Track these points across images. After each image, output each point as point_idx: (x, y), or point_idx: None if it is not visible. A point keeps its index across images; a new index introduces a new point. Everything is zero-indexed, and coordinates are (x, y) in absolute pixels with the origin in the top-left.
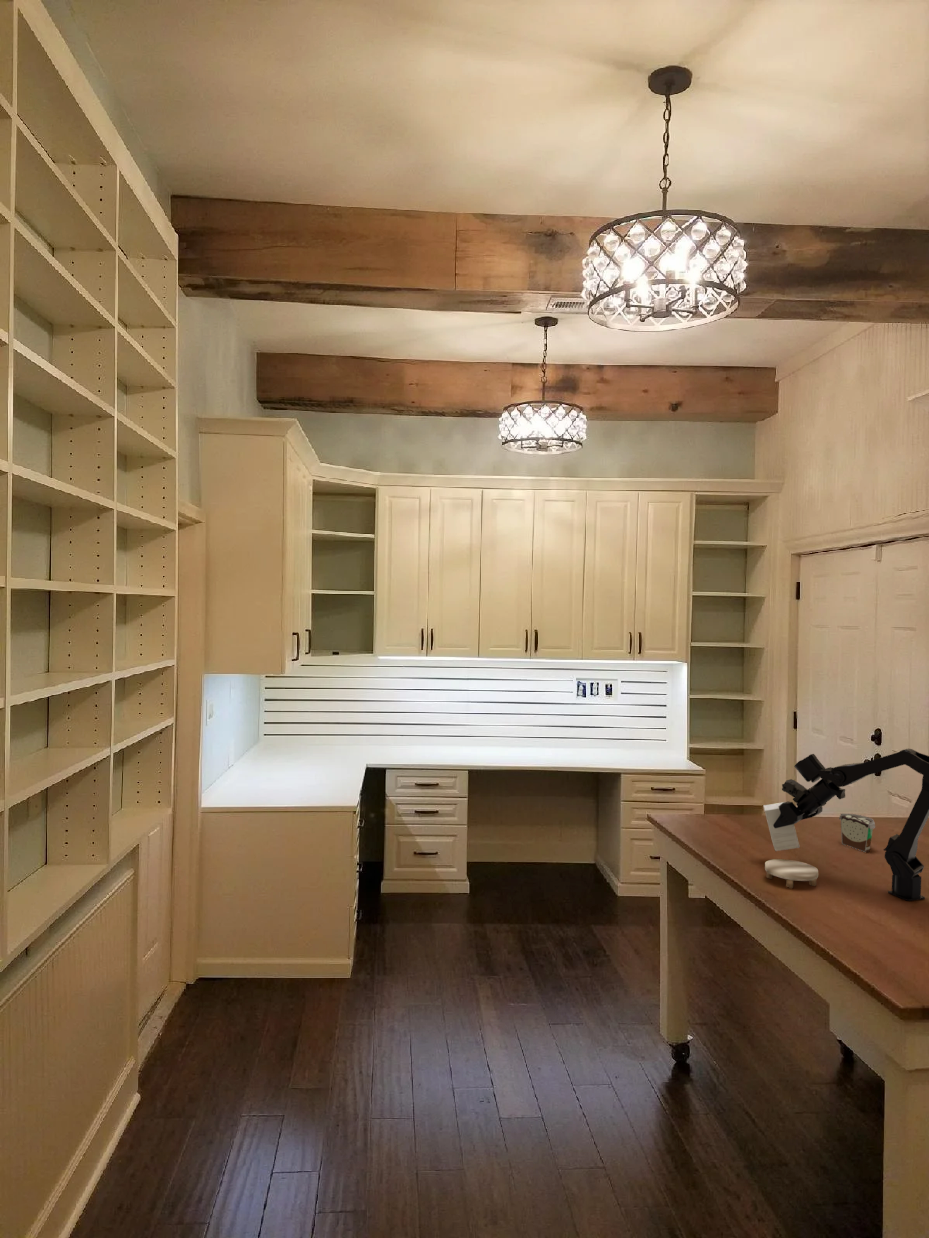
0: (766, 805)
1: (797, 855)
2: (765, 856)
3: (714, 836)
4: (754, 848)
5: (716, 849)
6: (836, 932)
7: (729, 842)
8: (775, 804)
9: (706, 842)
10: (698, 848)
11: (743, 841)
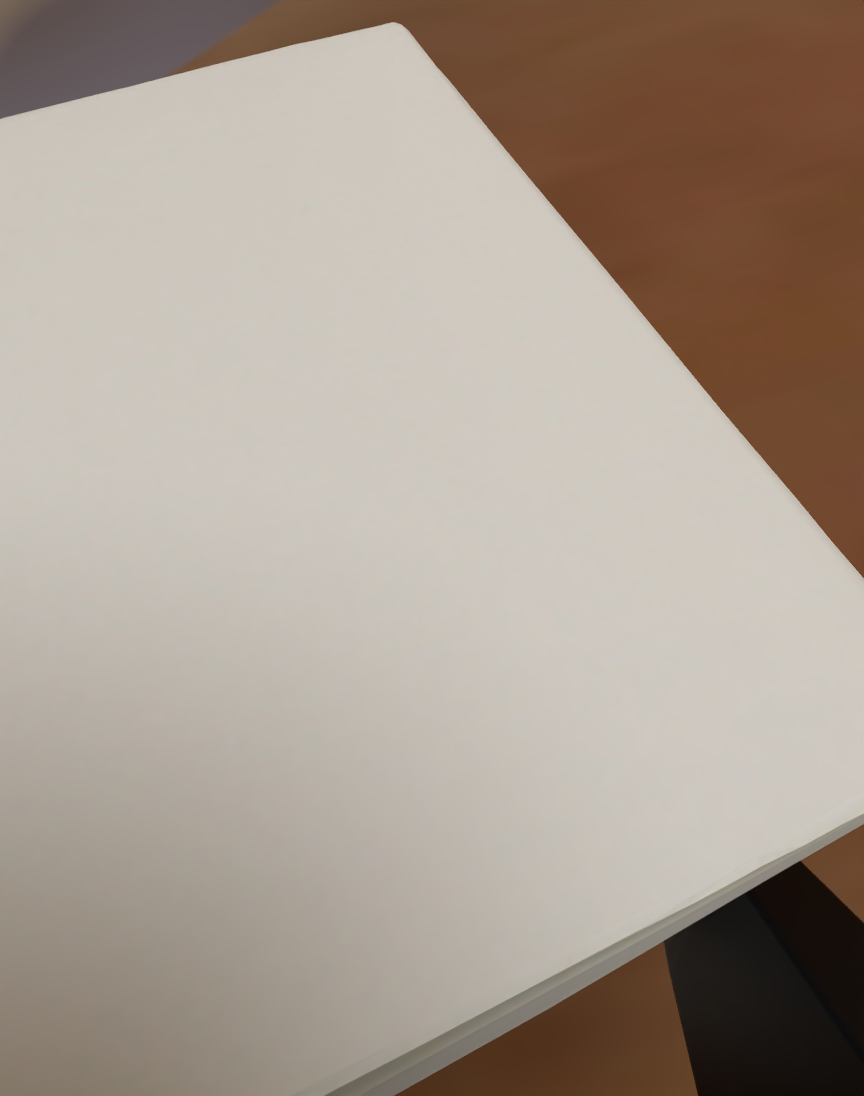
0: (312, 97)
1: None
2: None
3: (709, 41)
4: None
5: None
6: None
7: (641, 178)
8: (326, 342)
9: (477, 46)
10: (244, 50)
11: (780, 256)
